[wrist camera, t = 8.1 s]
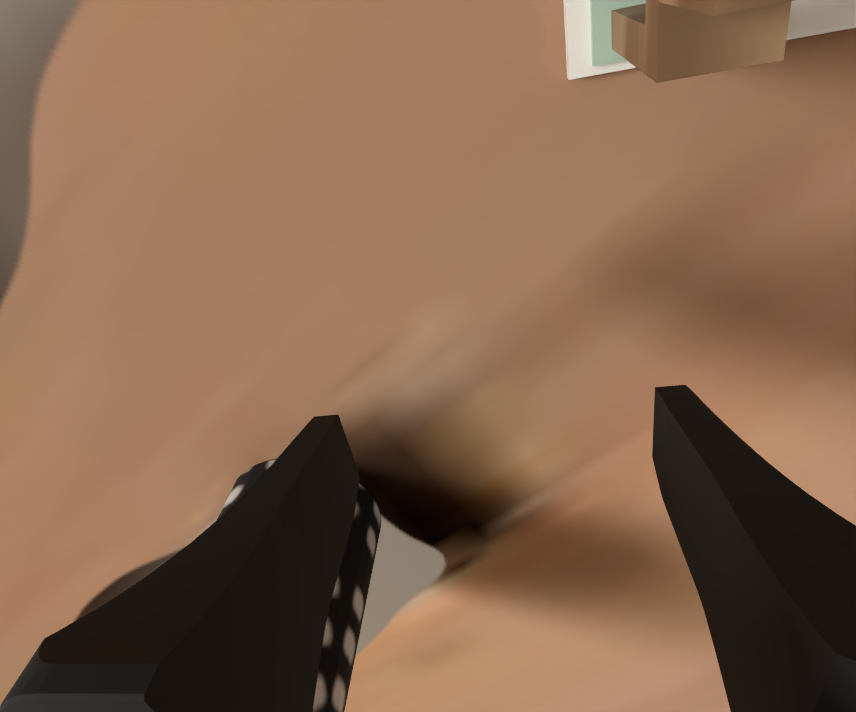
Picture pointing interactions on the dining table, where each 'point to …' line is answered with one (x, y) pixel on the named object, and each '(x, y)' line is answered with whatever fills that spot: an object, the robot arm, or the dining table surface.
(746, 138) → the dining table surface
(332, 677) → the white-spotted black cylinder
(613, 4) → the end pad
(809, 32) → the buzz wire board
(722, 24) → the stepped wooden block
